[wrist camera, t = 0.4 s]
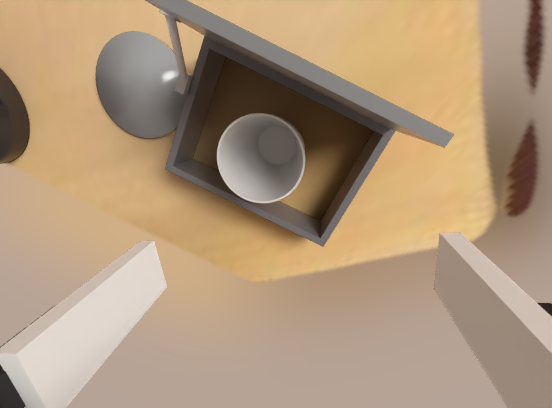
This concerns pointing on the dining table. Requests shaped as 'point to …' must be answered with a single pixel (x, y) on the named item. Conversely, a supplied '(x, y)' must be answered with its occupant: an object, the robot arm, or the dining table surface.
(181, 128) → the case
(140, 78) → the slate coaster
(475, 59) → the dining table surface
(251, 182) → the cup
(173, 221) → the dining table surface
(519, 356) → the robot arm
